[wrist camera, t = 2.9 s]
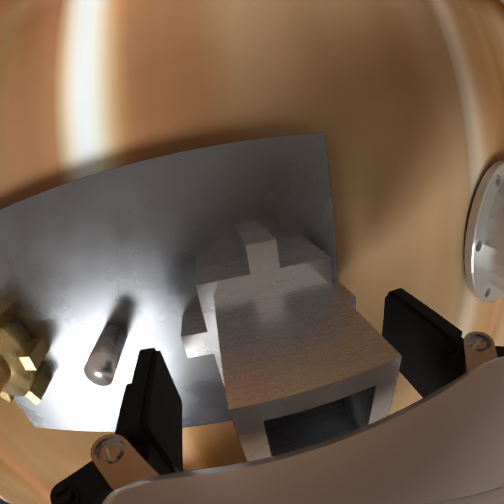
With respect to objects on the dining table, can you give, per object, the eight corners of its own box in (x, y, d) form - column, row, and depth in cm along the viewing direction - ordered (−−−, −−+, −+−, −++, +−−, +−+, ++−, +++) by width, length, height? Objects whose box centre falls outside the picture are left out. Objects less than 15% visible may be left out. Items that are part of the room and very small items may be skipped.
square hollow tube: (333, 215, 13) (460, 275, 6) (338, 349, 16) (408, 447, 8) (164, 248, 12) (121, 361, 5) (204, 381, 15) (216, 506, 7)
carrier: (314, 134, 13) (376, 121, 8) (330, 381, 18) (363, 438, 13) (-49, 235, 10) (-100, 260, 5) (39, 417, 15) (20, 464, 10)
